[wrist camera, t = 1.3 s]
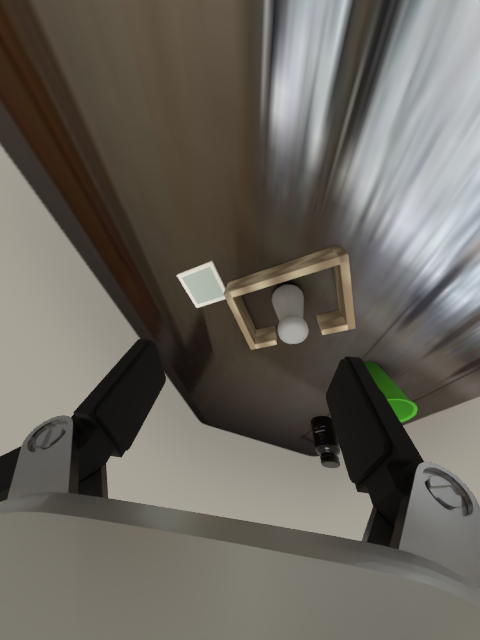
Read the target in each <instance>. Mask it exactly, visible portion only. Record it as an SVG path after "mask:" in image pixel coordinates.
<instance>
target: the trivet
mask: <svg viewBox="0 0 480 640" xmlns="http://www.w3.org/2000/svg"><path fill="white" fill-rule="evenodd" d="M177 277H178V278H179V280H180V282H181V283H182V285H183V287H184V288H185V290H186V292H187V293H188V295H189V297H190V298H191V300H192V302H193V303H194V305H195V306H196V308H199V307H202V306H205V305H208V304H211V303H215V302H218V301H221V300H224V299H226V298H225V296H224V291H225V289H226V287H225V285H224V283H223V281H222V279H221V277H220V275H219V273H218V270H217V268H216V266H215V264H214V262H213V260H212V261H209V262H207V263H204V264H202V265H199V266H197V267H194V268H192V269H189V270H187V271H184V272H181V273H179V274H177Z"/></svg>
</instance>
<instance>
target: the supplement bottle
mask: <svg viewBox="0 0 480 640" xmlns="http://www.w3.org/2000/svg"><path fill="white" fill-rule="evenodd" d="M311 425H312V432H313V438H314V444H315V449H316V452H317V453H318V454H319V455H321V456H320V459H321V463H322V465H323V466H324V467H328V468H337V467H339V466H340V462H339V458H338V455H339V454H340V447H339V443H338V439H337V435H336V431H335V428H334V424H333V421H332V420H331V419H330V418H328V417H315V418H314V419H312V421H311Z"/></svg>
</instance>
